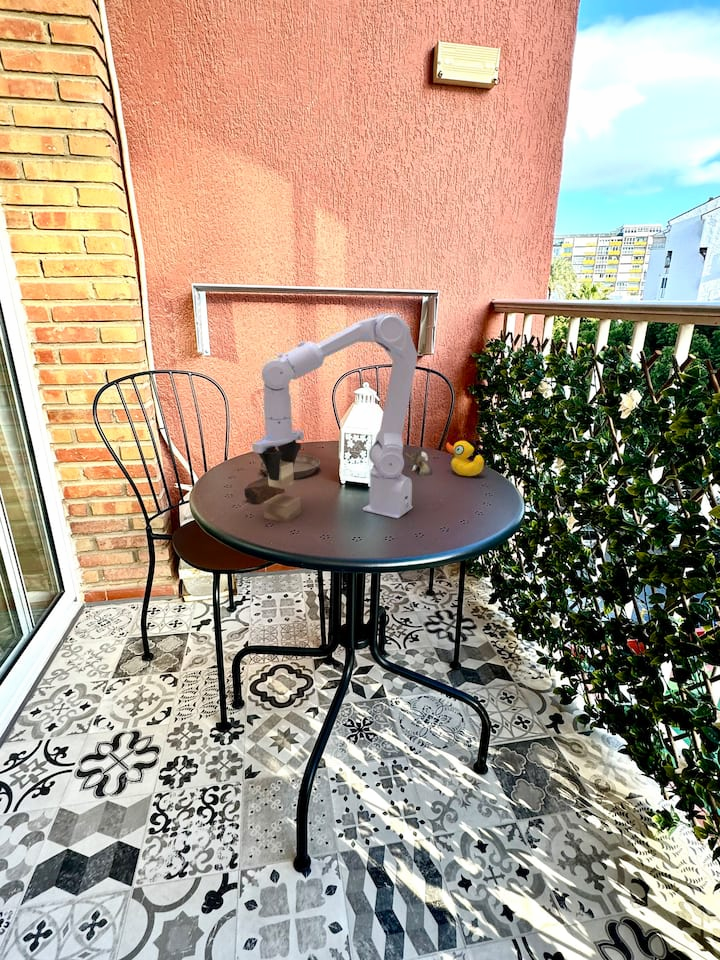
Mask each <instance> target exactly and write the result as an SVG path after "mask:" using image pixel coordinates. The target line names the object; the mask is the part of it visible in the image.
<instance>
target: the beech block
mask: <svg viewBox="0 0 720 960" xmlns="http://www.w3.org/2000/svg"><path fill="white" fill-rule="evenodd" d="M267 476H268V484H269V486H272V487H276V488H280V489H283V488H284V489H286V488H287V487H291V486H292V485H294V484H295V481H294V476H293V463H292V462H286V461H281V460H280V466H279V480H277V481H275V480H270V478H269V475H267Z"/></svg>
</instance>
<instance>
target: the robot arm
mask: <svg viewBox="0 0 720 960" xmlns="http://www.w3.org/2000/svg"><path fill="white" fill-rule="evenodd" d="M359 342H360V343H362V342H364V343H376V344H377V345H378V346H380V347H381V348H383V349H384V350H385V352H386V353H387V355H388V356H389V357H390V359H391V360H392V364H391V368H390V369H391V370H390V376H389V381H388V385H387V389H386V390H387V391H386V395H385V396H386V397H385V401H384V402H385V403H384V407H383V413H382V417H381V423H380V427H379V428H380V429H379V431H378V432H377V434H376V436H375V437H376V438H375V441H374V442H373V445H372V446H371V447H370V449H369V452H368V454H369V455H368V456H369V460H370V461H371V463H372V464H373V465H372V468H371V469H370V471H369V472H370V474H369V479H370V480H369V482H370V484H369V488H370V489H369V504H367V505H365V506H364V507H362V510H363V511H365V512H369V513H373V514H378V515H381V516H386V517H390V518H393V519H399V518H401V517H402V516H404V515H405V514H406V513H407V512H409V511H411V510H412V509H413V505H412V499H413V481H412V479H411V478H410V477H408V476H405V475H404V474H402V472H403V469H404V466H405V460H404V456H403V451H404V442H403V435H402V434H403V433H404V432H403V430H404V425H405V422H406V421H405V420H406V417H407V412H408V411H407V410H408V407H409V405H408V404H409V401H410V396H411V391H412V385H413V381H414V377H415V371H416V365H417V360H418V353H417V349H416V346H415V344H414V340H413V338H412V334H411V327H410V326H409V324H408V323H406V321H405V320H404V319H403V317H401V316H400V315H399V314H396V313H392V312H390V313H377V314H376V315H374V316H373V317H368V318H364V319H362V320H359V321H356V322H353V324H351V325H349V326H347V327H346V328H344V329H342V330H340V331H338V332H337V333H334V334H333V335H331V336H330V337H328V338H326V339H324V340H322V341H320V342H319V343H316V342H313V341H310V340H309V341H308V340H307V341H306V342H304V341H303V340H302V341H300V342H298V343H297V345H298V346H297V347H295V348H292V349H290V350H288V351H286V352H285V353H282V352H280V353H278V354H277V357H278V359H275V358H273V359H270V360H268V361H267V362H265V363H264V365H263V367H262V370H261V378H262V381H263V383H264V384H263V393H264V394H263V396H262V397H263V415H264V430H265V434H263V435H262V438H260V439H258V440H257V441H256V442H253V443H252V452H253V453H256V454H258V455H259V457H260V459H261V460H262V461H263V462H264V464H265V466H266V469H267V472H268V475H269V478H270V480H275V481H277V480H279V466H280V459H281V461H286V462H292V463H293V467H294V463H295V459H296V456H297V455H299V454H298V453H299V451H300V449H301V448H302V443H301V442H297V441H302V440H304V431H303V430H298V429H297V430H293V422H292V421H293V420H292V401H291V399H292V398H291V394H290V383H291V380H298V379H300V378H302V377H303V376H306V375H308V374H309V373H312V372H313V371H315V370H317V369H319V368H321V367H322V366H323V364H324V360H325V358H327V357H329V356H331V355H333V354H335V353H337V352H340V351H342V350H344V349H346V348H348V347H350V346H352V345H354V344H357V343H359ZM277 449H278V450H277ZM268 475H267V476H268Z"/></svg>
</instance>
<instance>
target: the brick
mask: <svg viewBox="0 0 720 960" xmlns="http://www.w3.org/2000/svg"><path fill="white" fill-rule="evenodd" d="M284 492H285V488H283V489H280V488H276V487H272V486H269V484H268V475H267V476H264V477H261V478H260V479H257V480H254V481H252V482H250V483H248V485H246V487H245V488H244V498H245V500H247V502H248V503H253V504H254V505H255V504H256V505H257V504H260V503H264V502H265V501H267V500H269V499H270V498H272V497H274V496H276V495H278V494H281V495H282V494H283V493H284Z"/></svg>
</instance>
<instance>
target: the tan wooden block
mask: <svg viewBox="0 0 720 960" xmlns="http://www.w3.org/2000/svg"><path fill="white" fill-rule="evenodd" d="M301 504H302V503H301V497H297V496H293V495H286V494H282V493H281V494H278V495H276V496H274V497H272V498H270V499H268V500H266V501H264V502H263V515H264V516H263V517H264V518H263V519H268V520H273V521H278V522H283V523H289V522H290V521H292V520H293V519H294V518H296V517H298V516H299V515H300V514H302V508H301V507H302V505H301Z"/></svg>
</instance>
